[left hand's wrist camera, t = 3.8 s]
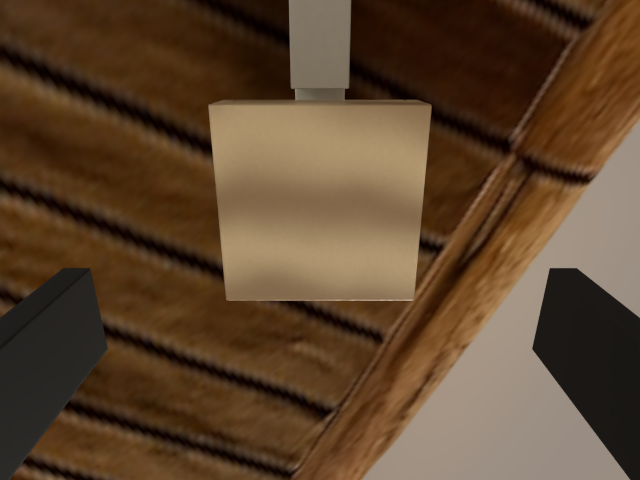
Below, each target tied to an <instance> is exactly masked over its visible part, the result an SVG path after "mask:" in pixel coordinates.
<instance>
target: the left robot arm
mask: <svg viewBox="0 0 640 480" xmlns="http://www.w3.org/2000/svg"><path fill="white" fill-rule="evenodd" d="M107 349H108V348H107V343H106V339H105V334H104V330H103V325H102V320H101V316H100V311H99V307H98V302H97V298H96V293H95V288H94V284H93V279H92V275H91V270H90V268H63V269H62V270H61V271H59V272H58V273H57V274H55V275H54V276H53V277H52V278H50V279H49V280H48V281H47V282H45V283H44V284H43V285H41V286H40V287H39V288H38V289H36V290H35V291H34V292H33V293H31V294H30V295H29V296H28V297H26V298H25V299H24V300H22V301H21V302H20V303H19V304H17V305H16V306H15V307H14V308H12V309H11V310H10V311H9V312H7V313H6V314H5V315H3V316H2V317H1V318H0V480H10V478H11V477H12V476H13V474H14V473H15V472H16V470H17V469H18V468H19V466H20V465H21V464H22V462H23V461H24V460H25V458H26V457H27V456H28V454H29V453H30V452H31V450H32V449H33V448H34V446H35V445H36V444H37V442H38V441H39V440H40V439H41V437H42V436H43V435H44V433H45V432H46V431H47V429H48V428H49V427H50V425H51V424H52V423H53V421H54V420H55V419H56V417H57V416H58V415H59V413H60V412H61V411H62V409H63V408H64V407H65V405H66V404H67V403H68V401H69V400H70V399H71V397H72V396H73V395H74V393H75V392H76V391H77V389H78V388H79V387H80V385H81V384H82V383H83V381H84V380H85V379H86V377H87V376H88V375H89V373H90V372H91V371H92V369H93V368H94V367H95V365H96V364H97V363H98V361H99V360H100V359H101V357H102V356H103V355H104V353H105V352H106V351H107ZM532 349H533V351H534V352H535V353H536V355H537V356H538V357H539V359H540V360H541V361H542V363H543V364H544V365H545V367H546V368H547V369H548V371H549V372H550V373H551V374H552V376H553V377H554V378H555V380H556V381H557V382H558V384H559V385H560V387H561V388H562V389H563V391H564V392H565V393H566V395H567V396H568V397H569V398H570V400H571V401H572V403H573V404H574V405H575V407H576V408H577V409H578V411H579V412H580V413H581V415H582V416H583V417H584V419H585V420H586V421H587V423H588V424H589V425H590V427H591V428H592V429H593V431H594V432H595V433H596V435H597V436H598V437H599V439H600V440H601V441H602V442H603V444H604V445H605V447H606V448H607V449H608V450H609V452H610V453H611V454H612V456H613V457H614V458H615V460H616V461H617V462H618V464H619V465H620V466H621V468H622V469H623V470H624V472H625V473H626V474H627V476H628V477H629V478H630V480H640V318H639V317H638V316H637V315H635V314H634V313H633V312H631V311H630V310H629V309H628V308H626V307H625V306H624V305H623V304H621V303H620V302H619V301H618V300H616V299H615V298H614V297H612V296H611V295H610V294H609V293H607V292H606V291H605V290H604V289H602V288H601V287H600V286H598V285H597V284H596V283H595V282H593V281H592V280H591V279H590V278H588V277H587V276H586V275H585V274H583V273H582V272H581V271H579V270H578V269H577V268H550V270H549V275H548V279H547V284H546V288H545V293H544V298H543V302H542V307H541V311H540V316H539V321H538V325H537V330H536V334H535V339H534V344H533V348H532Z"/></svg>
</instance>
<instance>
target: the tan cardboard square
mask: <svg viewBox="0 0 640 480" xmlns="http://www.w3.org/2000/svg"><path fill="white" fill-rule="evenodd" d="M209 117H210V128H211V139H212V150H213V161H214V172H215V183H216V194H217V205H218V216H219V226H220V237H221V248H222V259H223V270H224V281H225V292H226V300H414V292H415V281H416V270H417V259H418V248H419V237H420V226H421V216H422V205H423V194H424V183H425V172H426V161H427V150H428V139H429V128H430V117H431V105H430V104H427V103H424V102H421V101H419V100H405V101H404V100H236V101H235V100H222V101H219V102H216V103H213V104H210V105H209Z"/></svg>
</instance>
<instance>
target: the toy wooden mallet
mask: <svg viewBox="0 0 640 480" xmlns="http://www.w3.org/2000/svg"><path fill="white" fill-rule="evenodd" d="M289 23H290V66H291V89H295V100H345V89H349V66H350V23H351V0H289Z"/></svg>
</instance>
